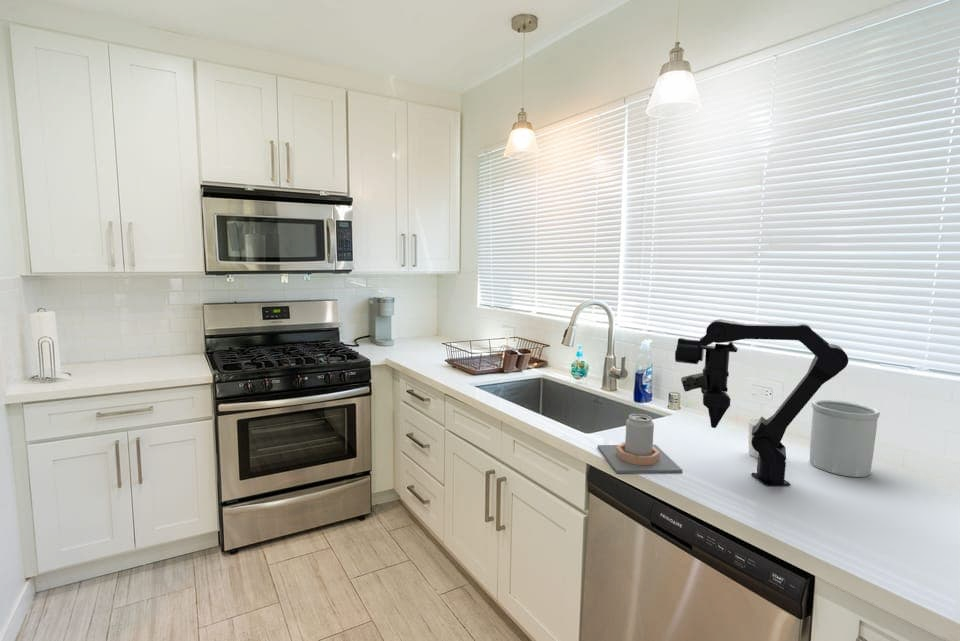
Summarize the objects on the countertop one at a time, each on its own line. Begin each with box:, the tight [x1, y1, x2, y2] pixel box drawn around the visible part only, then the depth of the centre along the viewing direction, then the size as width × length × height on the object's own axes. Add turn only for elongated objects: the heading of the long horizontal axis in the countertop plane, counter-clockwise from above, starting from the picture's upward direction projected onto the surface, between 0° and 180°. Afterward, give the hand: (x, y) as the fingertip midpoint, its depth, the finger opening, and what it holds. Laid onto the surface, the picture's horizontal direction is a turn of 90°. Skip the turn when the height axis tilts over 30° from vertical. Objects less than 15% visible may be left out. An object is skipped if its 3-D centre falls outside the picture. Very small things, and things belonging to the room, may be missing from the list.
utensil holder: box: [809, 398, 881, 478], centre depth 133 cm, size 15×15×18 cm
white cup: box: [748, 418, 760, 459], centre depth 141 cm, size 8×8×10 cm
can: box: [624, 413, 655, 456], centre depth 137 cm, size 8×8×12 cm
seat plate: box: [597, 441, 683, 474], centre depth 138 cm, size 18×18×3 cm
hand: (712, 422), depth 131 cm, fingers open, 9 cm apart
